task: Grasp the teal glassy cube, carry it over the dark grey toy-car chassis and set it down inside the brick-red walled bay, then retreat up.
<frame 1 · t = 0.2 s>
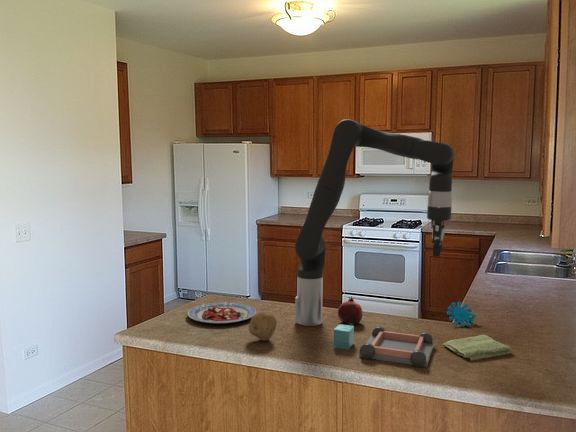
hand: (437, 254, 171), 29 cm above the counter, fingers open, 8 cm apart
fruit: (350, 323, 190), on the counter
teal glassy cube: (343, 345, 167), on the counter
washcloth: (476, 352, 164), on the counter
ceramic plate: (222, 317, 197), on the counter
gear: (461, 324, 190), on the counter
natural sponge: (262, 341, 171), on the counter
chassis: (397, 352, 162), on the counter
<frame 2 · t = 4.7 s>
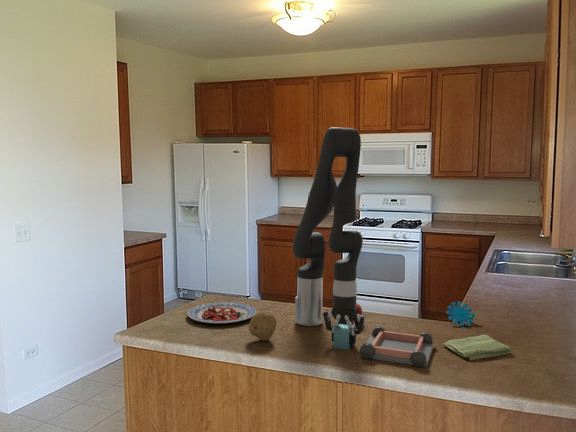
hand: (343, 344, 167), 0 cm above the counter, fingers closed on teal glassy cube, 5 cm apart
teal glassy cube: (343, 345, 167), on the counter, touching gripper
everything else where it was.
when the fingers open (3 cm above the counter, at t = 10.8 s): teal glassy cube drops 1 cm, resting on chassis.
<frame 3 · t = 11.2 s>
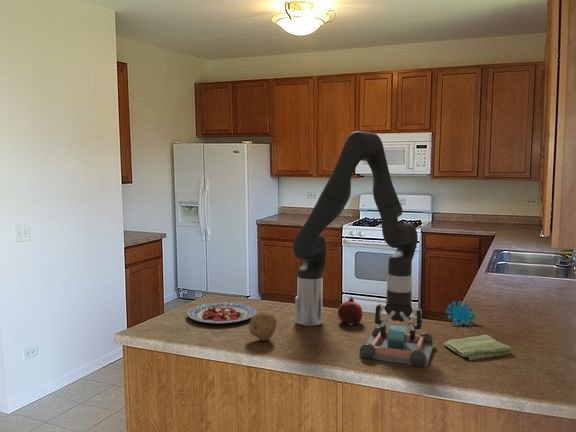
hand: (397, 339, 162), 4 cm above the counter, fingers open, 8 cm apart
teal glassy cube: (397, 347, 162), point 1 cm above the counter, touching chassis
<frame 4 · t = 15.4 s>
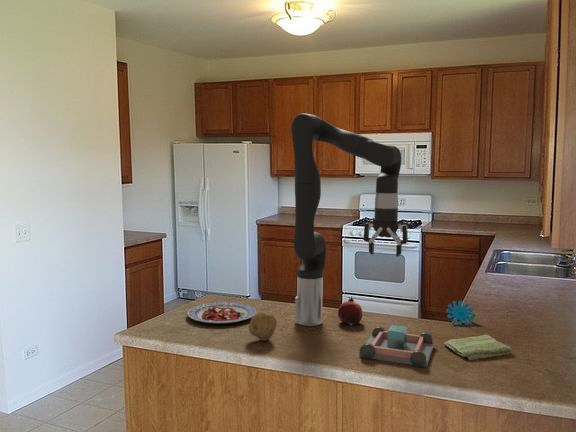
hand: (384, 255, 173), 28 cm above the counter, fingers open, 8 cm apart
at the end: teal glassy cube 0.1 cm off-centre on the chassis, point 1.5 cm above the chassis's base; teal glassy cube tilted 0°; the gripper is holding nothing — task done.
